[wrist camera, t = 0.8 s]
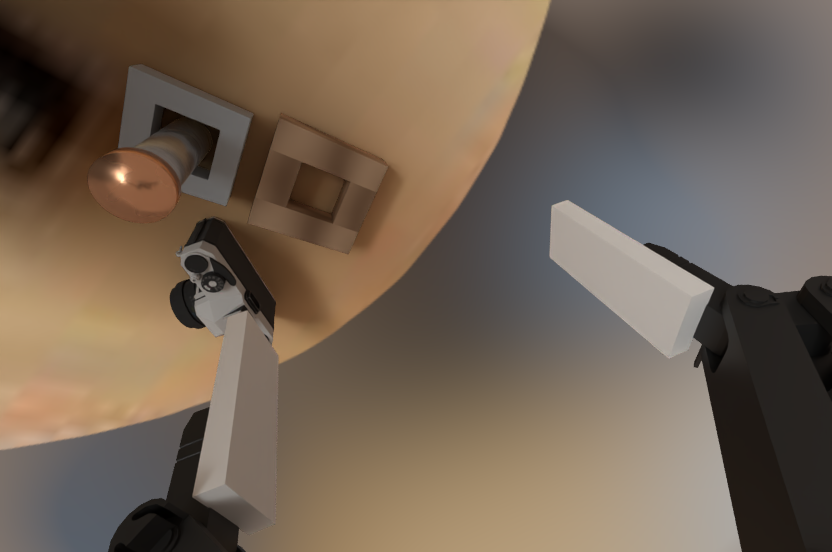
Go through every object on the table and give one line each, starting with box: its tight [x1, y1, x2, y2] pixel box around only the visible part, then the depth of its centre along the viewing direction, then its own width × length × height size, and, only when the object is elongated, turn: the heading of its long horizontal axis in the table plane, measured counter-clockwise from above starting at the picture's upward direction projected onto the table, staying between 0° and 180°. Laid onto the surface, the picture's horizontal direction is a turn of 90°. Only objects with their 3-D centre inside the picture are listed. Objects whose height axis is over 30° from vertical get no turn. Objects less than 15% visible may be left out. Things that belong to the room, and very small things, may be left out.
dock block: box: [247, 113, 388, 254], centre depth 34 cm, size 10×10×2 cm
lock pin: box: [87, 117, 212, 223], centre depth 25 cm, size 4×4×13 cm
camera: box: [170, 217, 276, 346], centre depth 35 cm, size 13×8×9 cm, turn 17°
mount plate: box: [118, 64, 254, 206], centre depth 29 cm, size 8×8×2 cm
